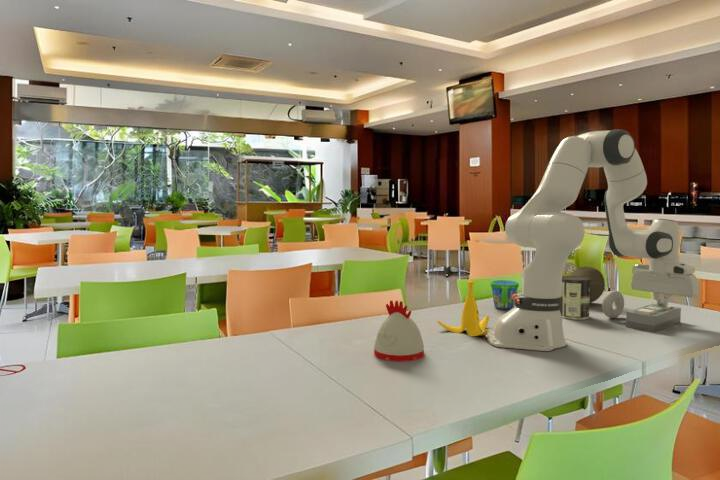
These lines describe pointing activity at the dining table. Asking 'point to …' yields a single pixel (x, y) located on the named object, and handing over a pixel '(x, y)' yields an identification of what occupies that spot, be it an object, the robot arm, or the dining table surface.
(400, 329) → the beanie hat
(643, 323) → the keypad
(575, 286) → the coffee can
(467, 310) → the banana peel
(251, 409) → the dining table surface
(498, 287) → the snack cup
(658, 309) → the key mid
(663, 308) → the key far
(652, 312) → the key near
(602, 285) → the coconut
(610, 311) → the donut
